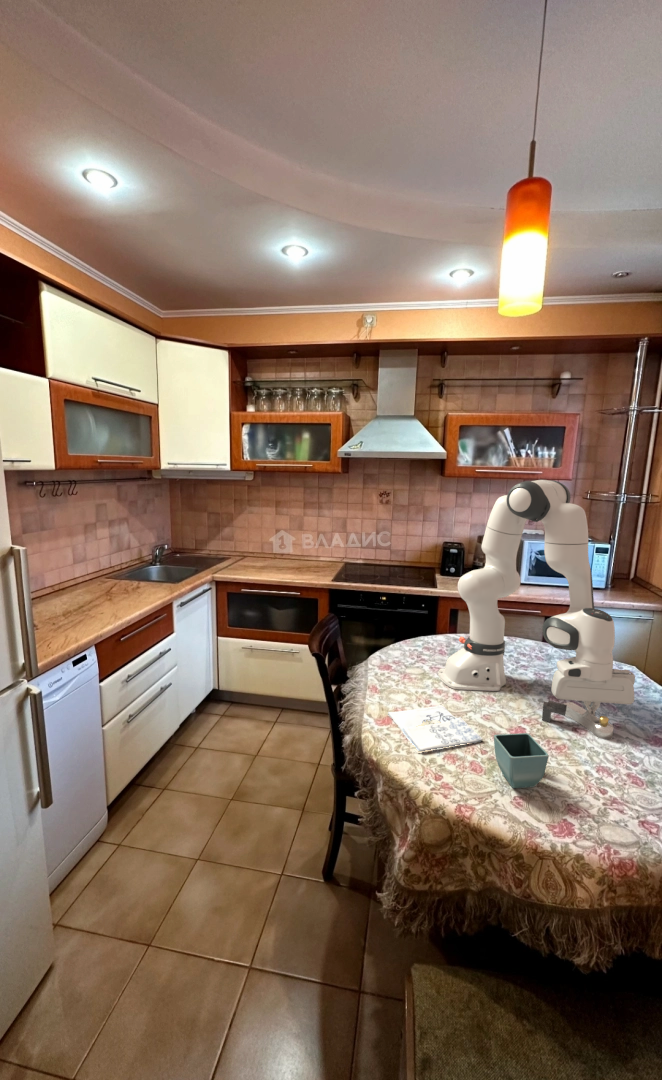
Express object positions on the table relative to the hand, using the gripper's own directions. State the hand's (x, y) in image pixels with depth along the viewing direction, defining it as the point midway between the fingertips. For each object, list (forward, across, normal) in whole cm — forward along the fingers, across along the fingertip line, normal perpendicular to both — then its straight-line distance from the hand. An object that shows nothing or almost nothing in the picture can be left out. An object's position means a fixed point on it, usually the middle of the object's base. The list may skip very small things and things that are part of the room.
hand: (590, 715), depth 122 cm
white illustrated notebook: (+3, +44, +10) cm, 45 cm away
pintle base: (+3, +4, +4) cm, 6 cm away
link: (+2, +2, +2) cm, 3 cm away
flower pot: (+3, +25, +28) cm, 38 cm away
